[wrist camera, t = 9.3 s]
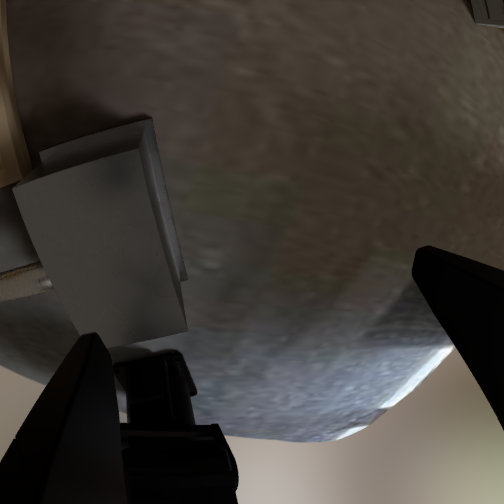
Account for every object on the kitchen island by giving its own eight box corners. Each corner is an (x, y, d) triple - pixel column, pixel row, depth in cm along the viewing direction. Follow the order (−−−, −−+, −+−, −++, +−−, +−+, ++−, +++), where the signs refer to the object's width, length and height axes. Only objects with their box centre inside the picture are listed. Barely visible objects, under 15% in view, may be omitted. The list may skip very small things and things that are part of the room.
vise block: (186, 275, 22) (198, 335, 17) (17, 314, 20) (-3, 371, 15) (151, 117, 16) (148, 133, 11) (-42, 187, 14) (-89, 226, 9)
